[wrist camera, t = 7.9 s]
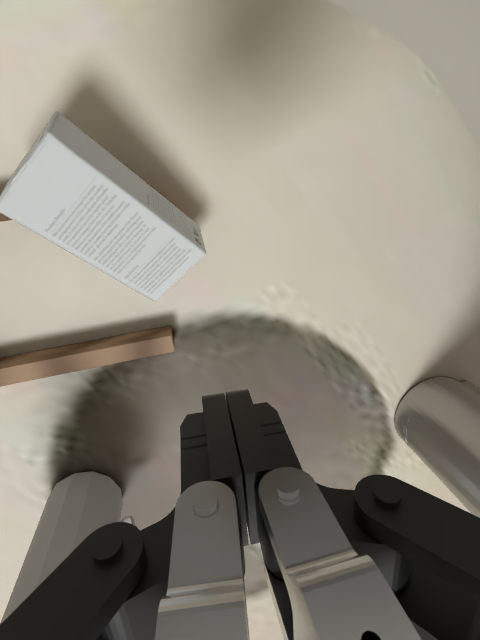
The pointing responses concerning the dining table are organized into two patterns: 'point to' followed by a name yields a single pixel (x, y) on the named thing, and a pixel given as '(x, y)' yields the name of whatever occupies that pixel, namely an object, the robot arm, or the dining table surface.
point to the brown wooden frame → (84, 353)
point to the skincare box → (101, 211)
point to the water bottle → (66, 527)
